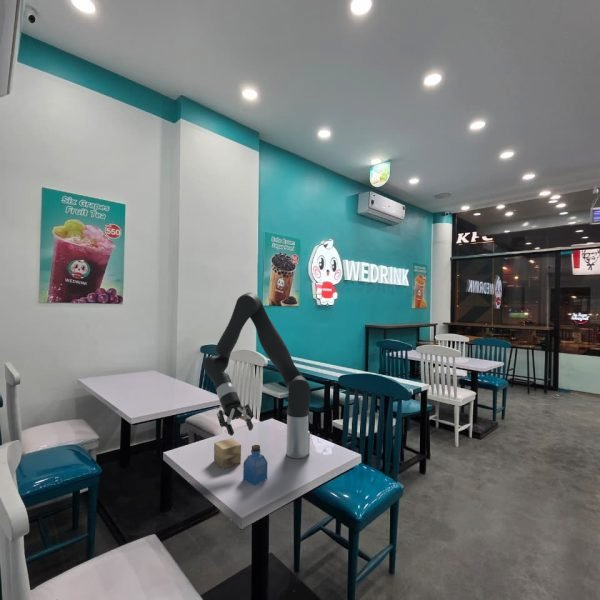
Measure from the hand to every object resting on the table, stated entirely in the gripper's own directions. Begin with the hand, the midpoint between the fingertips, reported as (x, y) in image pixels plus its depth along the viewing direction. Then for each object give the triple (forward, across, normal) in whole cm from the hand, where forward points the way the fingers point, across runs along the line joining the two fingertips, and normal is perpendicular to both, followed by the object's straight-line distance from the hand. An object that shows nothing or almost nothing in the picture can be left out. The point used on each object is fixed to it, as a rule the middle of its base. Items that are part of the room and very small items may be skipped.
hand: (242, 432), depth 131 cm
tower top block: (+2, -1, +14) cm, 14 cm away
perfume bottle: (+17, 0, +4) cm, 18 cm away
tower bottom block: (+4, -1, +16) cm, 17 cm away
